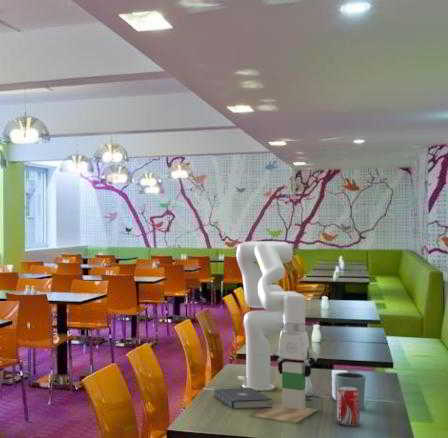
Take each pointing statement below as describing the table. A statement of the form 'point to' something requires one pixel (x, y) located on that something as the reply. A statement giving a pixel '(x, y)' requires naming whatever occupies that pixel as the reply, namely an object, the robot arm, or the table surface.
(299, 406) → the packet
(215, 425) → the table surface
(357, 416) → the soda can
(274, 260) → the robot arm
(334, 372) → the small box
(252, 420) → the table surface
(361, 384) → the grey cup
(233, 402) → the book
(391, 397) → the table surface
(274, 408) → the mat
